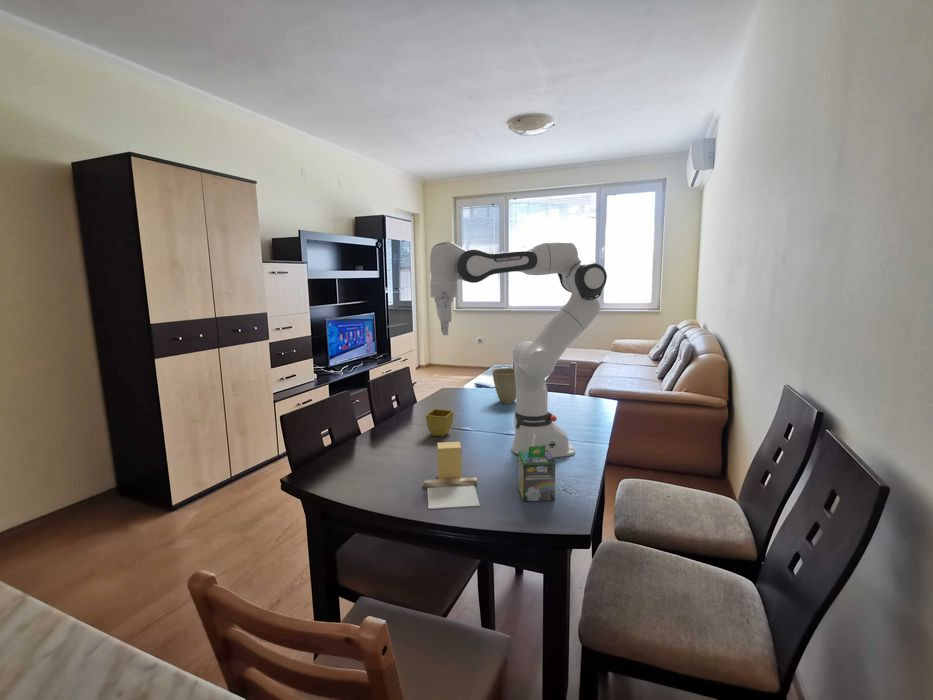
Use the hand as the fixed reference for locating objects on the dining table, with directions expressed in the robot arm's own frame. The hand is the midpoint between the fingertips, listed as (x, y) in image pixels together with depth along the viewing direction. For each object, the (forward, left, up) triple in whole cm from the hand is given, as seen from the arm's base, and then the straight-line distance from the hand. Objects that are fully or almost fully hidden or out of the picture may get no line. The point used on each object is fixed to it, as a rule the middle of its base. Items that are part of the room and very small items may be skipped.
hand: (444, 333), depth 150 cm
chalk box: (-24, +32, -44) cm, 59 cm away
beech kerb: (0, +23, -43) cm, 49 cm away
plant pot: (-35, -66, -44) cm, 87 cm away
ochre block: (0, +19, -43) cm, 47 cm away
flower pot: (+1, -22, -44) cm, 49 cm away
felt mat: (0, +31, -43) cm, 53 cm away
